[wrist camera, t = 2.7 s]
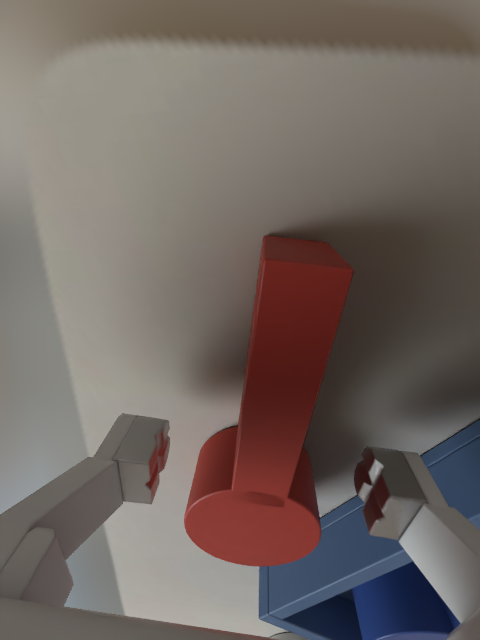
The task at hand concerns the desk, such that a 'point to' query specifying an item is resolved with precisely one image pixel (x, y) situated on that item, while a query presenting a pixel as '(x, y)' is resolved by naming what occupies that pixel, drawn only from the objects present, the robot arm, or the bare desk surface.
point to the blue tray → (360, 551)
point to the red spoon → (273, 414)
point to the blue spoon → (402, 607)
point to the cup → (289, 636)
